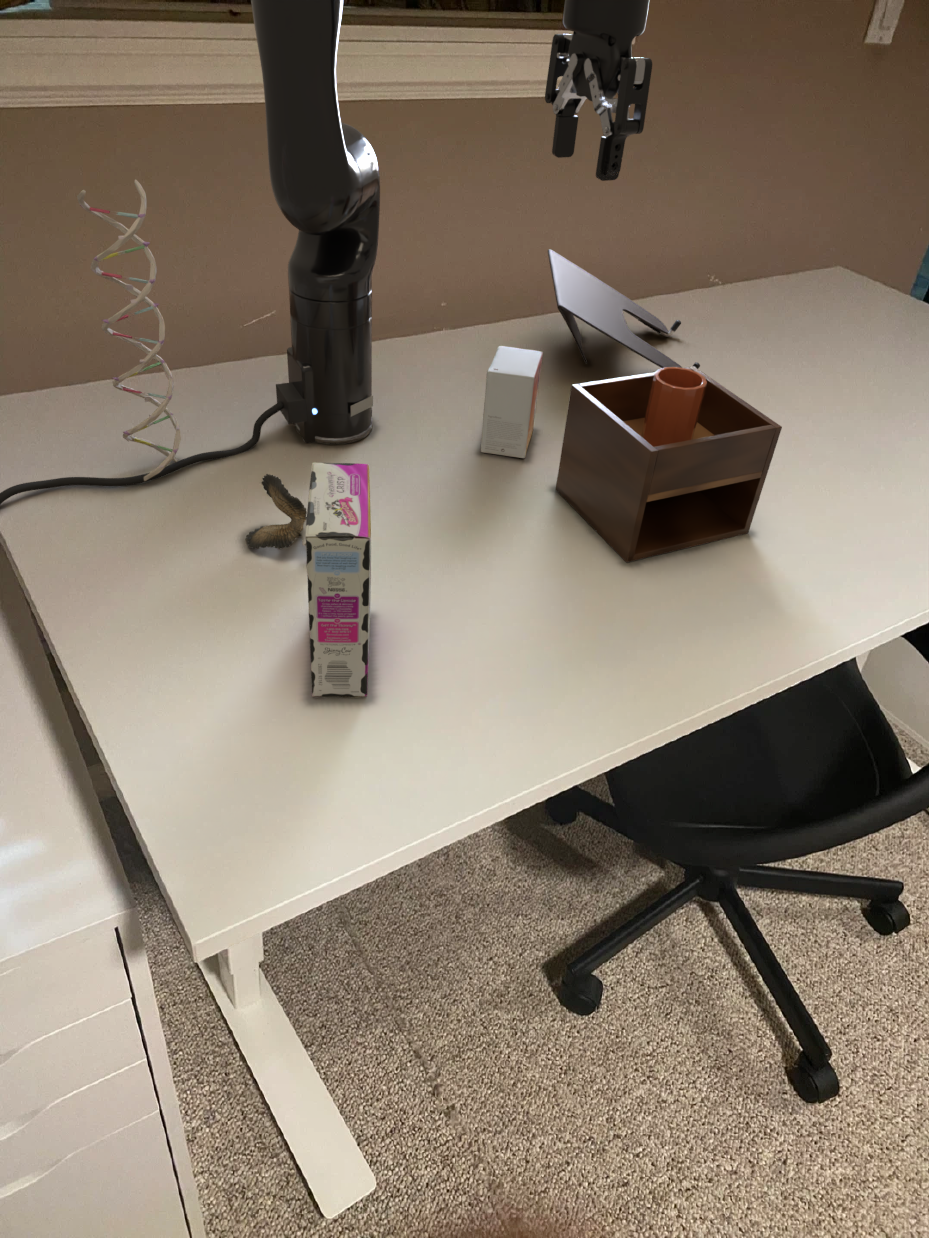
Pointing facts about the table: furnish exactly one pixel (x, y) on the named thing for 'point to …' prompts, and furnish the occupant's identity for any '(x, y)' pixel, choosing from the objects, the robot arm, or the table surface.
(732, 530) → the box
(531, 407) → the small box
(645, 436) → the cup
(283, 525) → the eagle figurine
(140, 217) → the dna model
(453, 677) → the table surface
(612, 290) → the laptop tray
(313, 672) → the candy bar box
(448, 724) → the table surface
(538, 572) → the table surface
